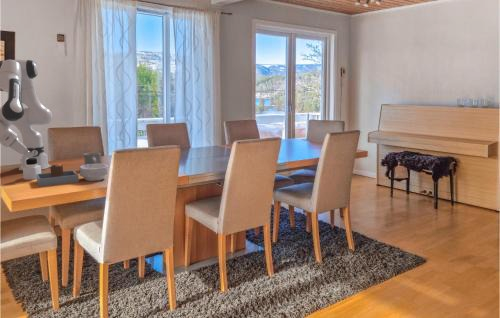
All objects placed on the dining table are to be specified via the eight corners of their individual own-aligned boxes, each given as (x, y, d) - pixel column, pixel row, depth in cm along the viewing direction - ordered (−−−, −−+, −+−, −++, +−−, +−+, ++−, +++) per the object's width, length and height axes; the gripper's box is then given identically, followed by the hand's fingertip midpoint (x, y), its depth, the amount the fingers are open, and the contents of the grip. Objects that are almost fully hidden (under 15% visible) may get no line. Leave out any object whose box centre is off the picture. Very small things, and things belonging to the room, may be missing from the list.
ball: (54, 168, 235) (54, 163, 234) (60, 168, 236) (60, 163, 236) (55, 169, 232) (55, 164, 232) (61, 169, 234) (61, 163, 233)
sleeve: (51, 181, 236) (49, 165, 234) (62, 179, 239) (61, 164, 238) (52, 183, 231) (51, 167, 229) (64, 181, 234) (63, 166, 232)
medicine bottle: (41, 177, 248) (40, 157, 246) (36, 180, 241) (34, 159, 239) (29, 177, 248) (27, 157, 245) (23, 180, 241) (21, 159, 238)
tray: (36, 181, 236) (35, 166, 235) (74, 177, 246) (73, 163, 245) (39, 187, 224) (38, 171, 222) (78, 182, 234) (77, 167, 232)
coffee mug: (85, 168, 274) (84, 152, 272) (101, 167, 277) (100, 152, 275) (83, 172, 261) (82, 156, 259) (100, 171, 264) (99, 155, 262)
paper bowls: (106, 181, 236) (105, 168, 234) (77, 183, 233) (76, 168, 232) (110, 176, 251) (109, 162, 249) (83, 177, 248) (82, 163, 247)
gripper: (3, 141, 227) (25, 157, 234) (4, 145, 210) (28, 163, 217) (12, 132, 229) (34, 148, 236) (14, 136, 212) (37, 153, 218)
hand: (31, 155), depth 226 cm, fingers open, 8 cm apart
